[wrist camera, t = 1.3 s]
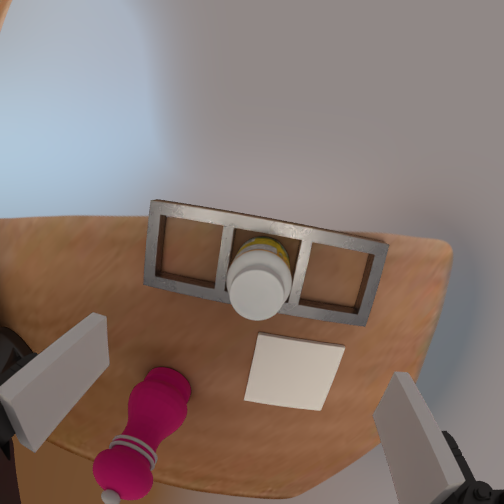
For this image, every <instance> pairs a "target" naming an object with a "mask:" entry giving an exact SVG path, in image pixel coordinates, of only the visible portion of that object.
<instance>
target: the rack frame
mask: <svg viewBox="0 0 504 504" xmlns="http://www.w3.org/2000/svg"><path fill="white" fill-rule="evenodd" d="M166 216H172V217H178V218H183V219H189V220H195V221H201V222H207V223H212V224H218V225H224V228H223V234H222V241H221V247H220V254H219V261H218V268H217V275H216V282H215V283H213V282H208V281H203V280H199V279H194V278H189V277H184V276H180V275H175V274H170V273H166V272H161V263H162V252H163V242H164V232H165V223H166ZM236 228H240V229H246V230H251V231H257V232H262V233H268V234H273V235H278V236H284V237H289V238H294V239H299V240H300V242H299V247H298V252H297V257H296V261H295V266H294V271H293V275H292V287H291V291H290V294H289V296H288V298H287V300H286V301H285V302H284V303H283V304H282V307H281V308H280V310H279V311H278V312H277V313H281V314H287V315H292V316H298V317H304V318H310V319H317V320H323V321H330V322H336V323H343V324H350V325H357V326H364V327H365V326H366V323H367V320H368V317H369V314H370V311H371V308H372V304H373V301H374V298H375V295H376V291H377V288H378V285H379V281H380V278H381V274H382V270H383V267H384V263H385V259H386V255H387V251H388V247H389V244H387V243H385V242H384V241H380V240H375V239H371V238H366V237H361V236H357V235H352V234H347V233H343V232H338V231H333V230H328V229H323V228H318V227H313V226H307V225H303V224H298V223H293V222H287V221H282V220H277V219H272V218H266V217H261V216H255V215H250V214H244V213H238V212H233V211H227V210H221V209H215V208H209V207H203V206H196V205H191V204H184V203H178V202H171V201H165V200H158V199H157V200H151V202H150V211H149V220H148V230H147V241H146V253H145V267H144V284H143V285H146V286H151V287H155V288H159V289H163V290H168V291H172V292H176V293H181V294H185V295H190V296H194V297H199V298H204V299H208V300H213V301H218V302H223V303H228V304H231V302H230V297H229V293H228V290H227V284H226V279H227V273H228V270H229V268H230V263H231V257H232V251H233V244H234V238H235V232H236ZM312 242H315V243H320V244H325V245H330V246H335V247H340V248H345V249H350V250H355V251H360V252H365V253H369V256H368V260H367V264H366V268H365V272H364V275H363V279H362V283H361V286H360V290H359V293H358V297H357V300H356V303H355V307H354V308H352V307H346V306H340V305H334V304H327V303H321V302H315V301H310V300H304V299H300V294H301V290H302V286H303V282H304V277H305V273H306V269H307V264H308V260H309V255H310V251H311V246H312Z"/></svg>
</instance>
